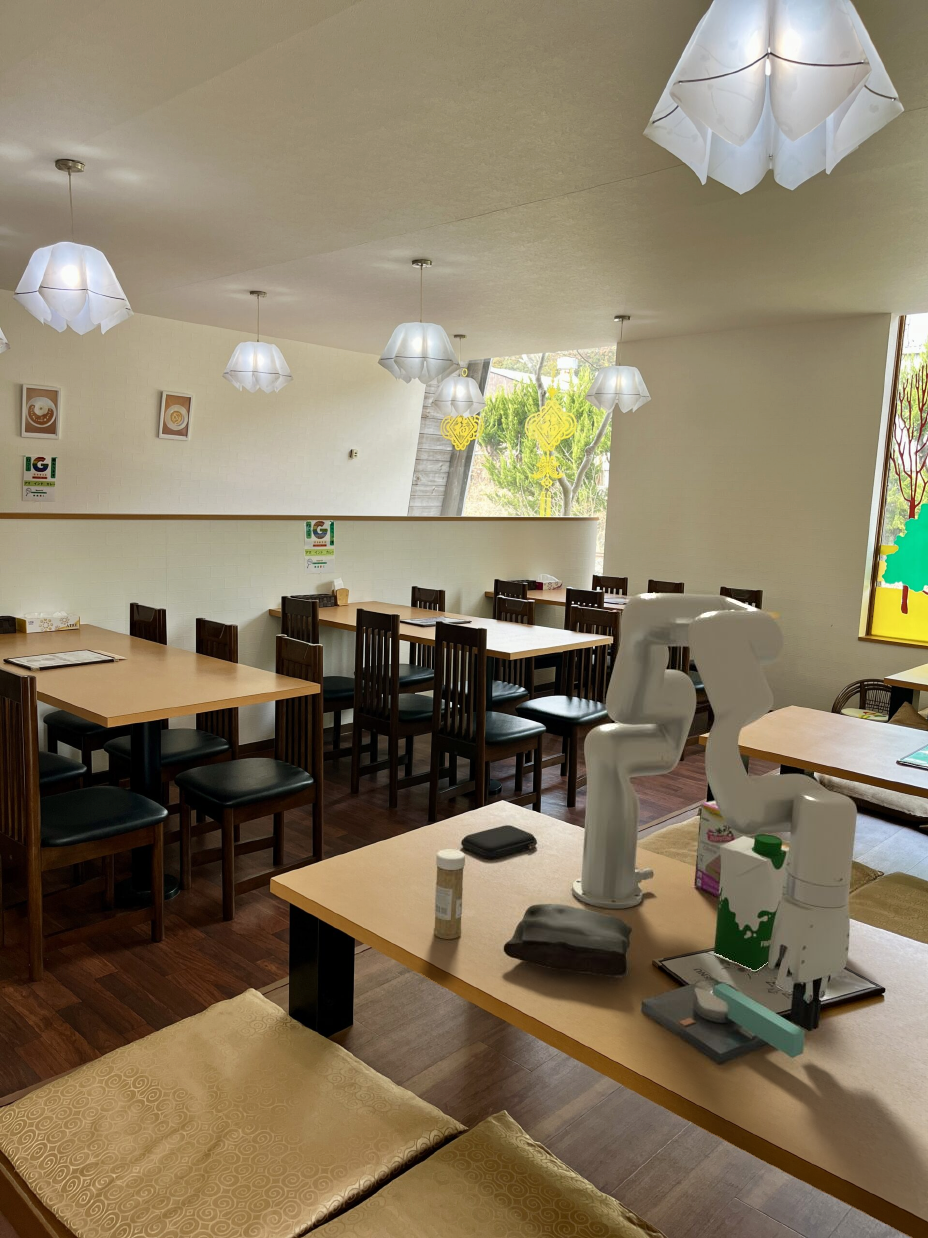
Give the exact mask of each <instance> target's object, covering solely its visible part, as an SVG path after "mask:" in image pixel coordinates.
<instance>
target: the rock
mask: <svg viewBox="0 0 928 1238" xmlns="http://www.w3.org/2000/svg"><path fill="white" fill-rule="evenodd" d="M522 917H523V918H522V919H521V920H520V921H519V922H518V924H517V926H516V928H515V930H514V933H513V935H512V937H511V938H510V939H509V940H508V941H506V942H505V944H504V945H503V952H504V953H505V955H506V956H507V957H509V958H512V959H517V960H518V961H519V960H520V961H522V962H526V963H527V964H528V963H529V964H531V965H532V964H533V965H537V966H540V967H544V968H548V969H554V970H561V971H570V972H574V973H580V974H581V973H582V974H583V973H584V974H592V975H600V976H606V977H611V978H616V979H617V978H618V979H619V978H620V979H621V978H626V977H627V976H628V973H629V961H628V955H627V954H628V950H629V948H630V946H631V934H632V932H633V928H632V927H631V926H630V925H628V924H627V923H626V921H624V920H623V919H622V918H620V917H617V916H615V915H609V914H606V913H605V914H604V913H601V912H596V911H593V910H590V909H586V908H585V909H584V908H579V907H575V906H571V905H566V904H559V903H554V904H553V903H540V904H539V903H538V904H533V905H530V906H529V907H528V908H527V909H526V910H525V912H524V914H523V916H522Z"/></svg>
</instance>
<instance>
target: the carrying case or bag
mask: <svg viewBox="0 0 928 1238" xmlns="http://www.w3.org/2000/svg"><path fill="white" fill-rule="evenodd" d="M460 844H461V846H462V847H463V849H464V850H466V851H468V852H470V853H472V854H474V855H476V856H479V857H481V858H483V859H485V860H495V859H499V858H502V857H506V856H510V855H513V854H516V853H520V852H523V851H526V850H528V851H530V850H532V849H533V848H535V847H537V846H536V845H537V844H538V841H537V838H536V837H535V836H534V834H532V833H531V832H528V831H526V830H523V829H520V828H519V827H516V826H514V825H508V824H506V825H502V826H497V827H493V828H490V829H485V830H482V831H478V832H475V833H474V832H473V833H471V834H468V835H465V837H464V838H463V839H461V842H460Z"/></svg>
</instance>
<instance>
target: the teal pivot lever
mask: <svg viewBox="0 0 928 1238" xmlns="http://www.w3.org/2000/svg"><path fill="white" fill-rule="evenodd" d="M704 980H705V979H704ZM700 981H701V982H699V981H698V982H699V983H697V984H696V985H695V993H694V1006H693V1007H694V1010H695V1011H696V1013H697V1014H699V1015H700V1016H702V1017H703V1018H705V1019H708V1020H711V1021H714V1022H721V1023H728V1022H733V1021H734V1022H736V1023H737V1024H739V1025H740V1026H742V1027H744V1028H745V1029H747V1030H748V1031H750V1032H752V1033H753V1034H755V1035H756V1036H758V1037H760V1038H761V1039H763V1040H764V1041H766V1042H768V1043H769V1045H771V1046H773V1047H774V1048H776V1049H777V1050H779V1051H780V1052H782V1053H784V1054H785V1055H787V1056H788V1057H790V1058H792V1059H793V1058H796V1057H798V1056H801V1055H803V1054H804V1053H803V1052H804V1045H805V1033H806V1030H805V1029H804V1028H802V1027H800V1026H799V1025H797V1024H795V1023H794V1022H793V1023H792V1021H789V1020H787V1019H786V1018H784V1017H782V1016H780V1015H779V1014H777V1012H776V1013H775V1012H774V1011H772V1010H770V1009H769V1008H767V1007H765V1006H764V1005H762V1004H761V1003H758V1002H757V1001H755V1000H753V999H752V998H750V997H748V996H746V995H745V994H744V993H741V992H740V991H739V990H738V989H737V988H736V987H735V986H733V985H732V984H729V983H728V982H724V981H720V980H718V981H715V980H705V981H702V980H700Z"/></svg>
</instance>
